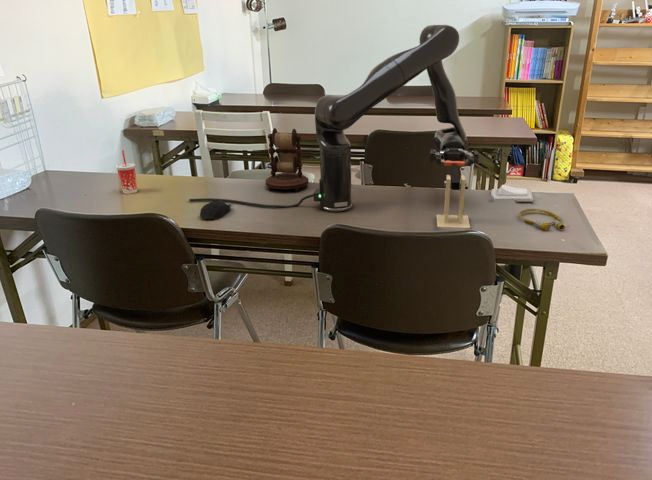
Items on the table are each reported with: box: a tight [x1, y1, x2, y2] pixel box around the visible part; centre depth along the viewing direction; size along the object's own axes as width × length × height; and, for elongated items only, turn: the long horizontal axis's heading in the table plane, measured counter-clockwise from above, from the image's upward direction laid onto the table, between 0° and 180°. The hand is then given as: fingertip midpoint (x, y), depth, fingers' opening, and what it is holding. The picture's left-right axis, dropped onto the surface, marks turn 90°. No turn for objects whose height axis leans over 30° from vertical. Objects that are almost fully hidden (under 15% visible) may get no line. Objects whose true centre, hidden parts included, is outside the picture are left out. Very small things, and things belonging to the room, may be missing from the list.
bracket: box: [436, 174, 471, 229], centre depth 155 cm, size 10×9×14 cm
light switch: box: [490, 184, 534, 203], centre depth 180 cm, size 11×4×13 cm
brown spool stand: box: [264, 127, 310, 192], centre depth 188 cm, size 15×15×20 cm
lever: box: [443, 161, 466, 191], centre depth 157 cm, size 13×6×2 cm, turn 174°
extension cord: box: [518, 208, 565, 231], centre depth 160 cm, size 12×16×2 cm
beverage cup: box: [115, 150, 138, 195], centre depth 186 cm, size 6×6×14 cm
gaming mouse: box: [199, 200, 232, 220], centre depth 168 cm, size 6×15×4 cm, turn 163°
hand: (455, 162), depth 158 cm, fingers open, 8 cm apart
